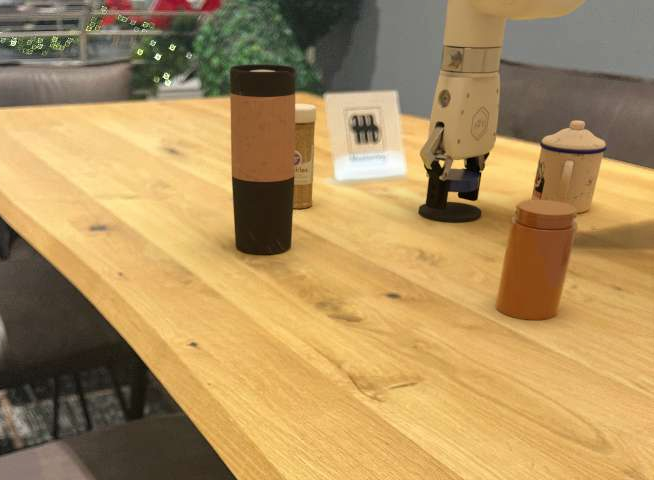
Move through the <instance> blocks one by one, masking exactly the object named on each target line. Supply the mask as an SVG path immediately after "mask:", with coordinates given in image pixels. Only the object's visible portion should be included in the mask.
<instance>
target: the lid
mask: <svg viewBox="0 0 654 480" xmlns="http://www.w3.org/2000/svg"><path fill="white" fill-rule="evenodd" d="M464 169H465V168H464ZM464 169H463V168H450V171H449V174H448V176H447V179H446V180H450V182H449V190H448V193H458V192H470V191H474V190H476V189H477V188H478V184H479V177H480V175H479V174H478V173H476V172H473V171H469V170H464Z"/></svg>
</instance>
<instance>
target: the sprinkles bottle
mask: <svg viewBox="0 0 654 480" xmlns="http://www.w3.org/2000/svg"><path fill="white" fill-rule="evenodd" d="M316 121H317V106H316V105H314V104H310V103H295V175H294V198H293V209H307V208H310V207H311V206H312V205H313V203H314V202H313V201H314V200H313V183H314V166H315V164H314V163H315V131H316V130H315V129H316V128H315V127H316Z"/></svg>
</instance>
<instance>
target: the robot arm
mask: <svg viewBox="0 0 654 480" xmlns="http://www.w3.org/2000/svg"><path fill="white" fill-rule="evenodd" d="M586 1H587V0H447V6H446V7H447V8H446V16H445V25H444V33H443V43H442V44H443V45H442V50H441V51H442V52H441V61H440V68H439V69H440V70H439V76H438V80H437V84H436V88H435V92H434V97H433V101H432V106H431V107H432V108H431V112H430V120H429V128H428V136H427V140H426V142H425V143H424V145H423V146H422V148H421V149H420V150H419V151H420V152H419V156H420V159H421V161H422V162H423V167H424V169H425V171H426V172H425V175H426V178H427V179H428V181H427V190H426V199H425V204H426V206H427V207H430V208H434V209H438V210H445V209H446V206H447V202H448V197H449V192H448V190H449V182H450V180H446V179H447V176H448V174H449V171H450V169H452V166H453V163H454V161H461V160H463V165H464V167H462V169H464V170H469V171H473V172H476V173H478V174H479V175H480V177H479V184H478V188H477V189H476V190H474V191H470V192H457V197H458V198H459V199H461V200H465V201H470V202H477V201H478V199H479V194H480V188H481V187H480V186H481V180H482V175H483V173H482V172H483V171H484V170H485V168H486V161H487V160H488V158H489V156H490V152H491V151H492V150H493V149H494V147H495V144H496V141H497V129H498V121H499V113H500V112H499V109H500V98H501V97H500V96H501V79H500V78H501V75H500V73H499V70H500V65H501V64H500V63H501V56H502V49H503V44H504V37H505V31H506V23H507V20H513V21H526V20H537V19H548V18H560V17H564V16H567V15H568V14H571V13H572V12H574V11H575V10H577V9H578V8H580V7H581V6H582V5H583V4H584V3H585V2H586ZM440 161H443V164H442V166H441V163H440Z"/></svg>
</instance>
